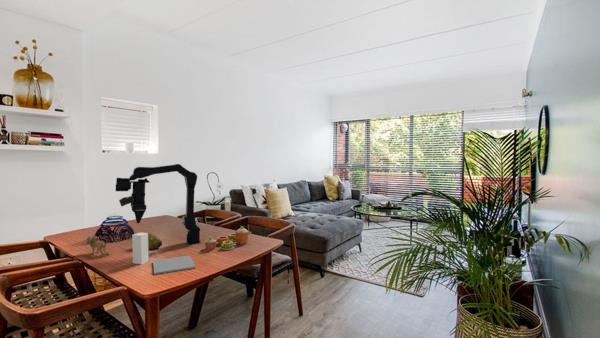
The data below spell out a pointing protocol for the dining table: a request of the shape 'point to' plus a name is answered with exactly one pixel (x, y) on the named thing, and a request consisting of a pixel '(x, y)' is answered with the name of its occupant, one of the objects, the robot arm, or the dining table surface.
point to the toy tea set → (228, 240)
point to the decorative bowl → (100, 230)
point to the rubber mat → (173, 264)
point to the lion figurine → (96, 244)
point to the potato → (153, 241)
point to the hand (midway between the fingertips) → (137, 221)
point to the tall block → (140, 248)
